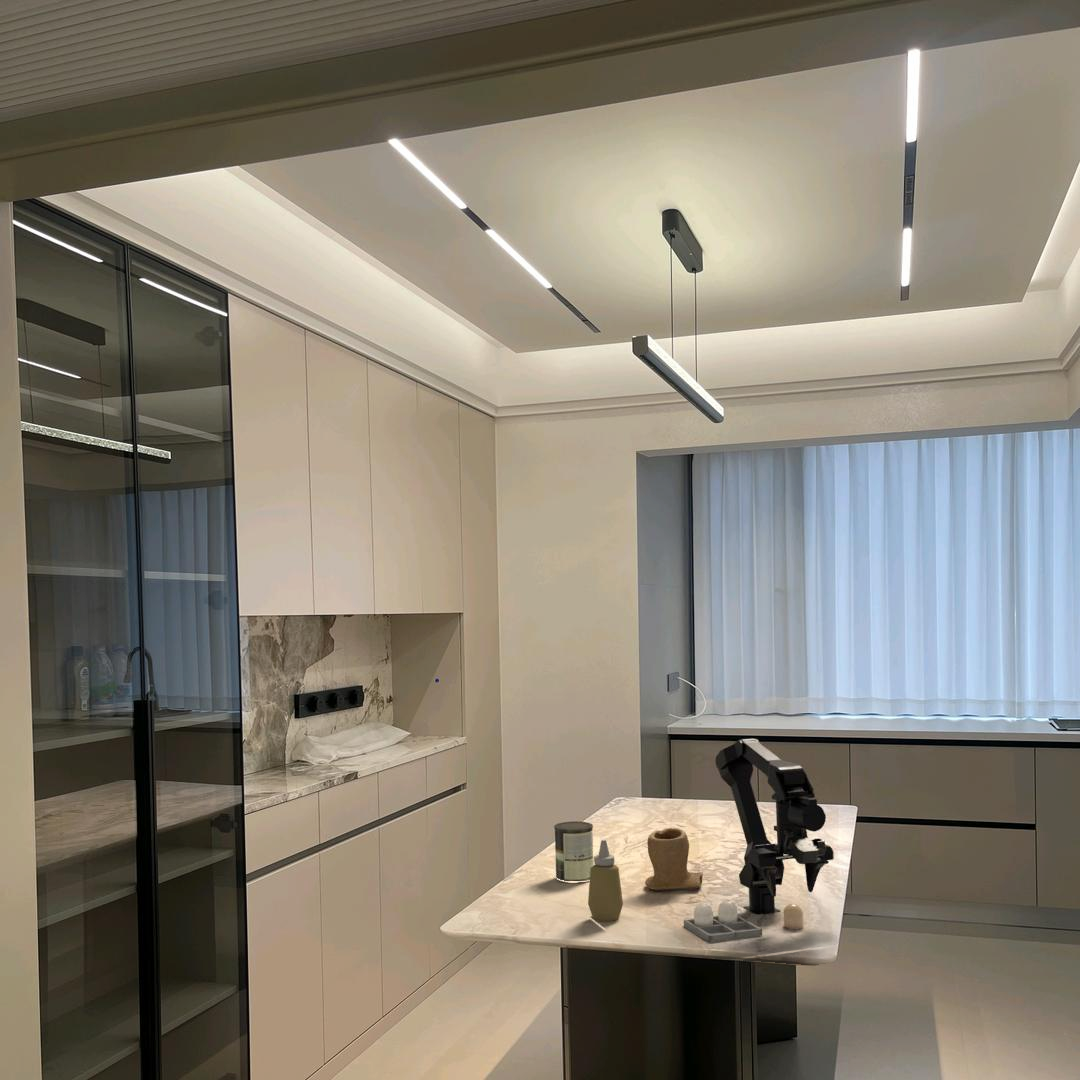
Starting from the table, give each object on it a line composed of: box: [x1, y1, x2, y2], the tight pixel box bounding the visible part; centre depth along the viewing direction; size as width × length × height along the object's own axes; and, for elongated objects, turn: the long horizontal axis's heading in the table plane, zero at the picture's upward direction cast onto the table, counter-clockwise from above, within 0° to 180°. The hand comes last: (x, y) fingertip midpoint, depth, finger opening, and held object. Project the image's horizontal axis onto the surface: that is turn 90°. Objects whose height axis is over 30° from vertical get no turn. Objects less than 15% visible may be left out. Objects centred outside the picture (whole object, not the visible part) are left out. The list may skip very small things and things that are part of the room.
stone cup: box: [644, 827, 704, 891], centre depth 271 cm, size 15×12×15 cm
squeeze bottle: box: [587, 839, 624, 923], centre depth 246 cm, size 8×8×18 cm
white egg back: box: [693, 903, 714, 927], centre depth 236 cm, size 4×4×5 cm
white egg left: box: [717, 900, 738, 924], centre depth 237 cm, size 4×4×5 cm
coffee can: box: [554, 820, 594, 881], centre depth 284 cm, size 10×10×14 cm
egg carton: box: [683, 914, 763, 943], centre depth 234 cm, size 13×13×2 cm
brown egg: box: [783, 903, 804, 930], centre depth 236 cm, size 4×4×5 cm
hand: (792, 893), depth 236 cm, fingers open, 9 cm apart
